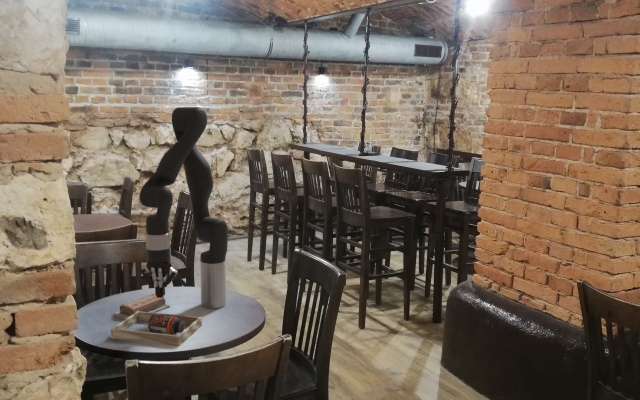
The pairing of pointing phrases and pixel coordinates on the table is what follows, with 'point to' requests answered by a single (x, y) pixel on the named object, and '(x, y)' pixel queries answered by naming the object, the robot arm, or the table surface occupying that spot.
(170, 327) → the supplement bottle
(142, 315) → the wooden frame
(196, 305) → the table surface
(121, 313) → the packaged product
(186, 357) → the table surface
